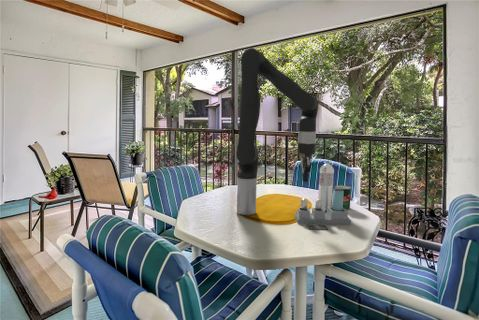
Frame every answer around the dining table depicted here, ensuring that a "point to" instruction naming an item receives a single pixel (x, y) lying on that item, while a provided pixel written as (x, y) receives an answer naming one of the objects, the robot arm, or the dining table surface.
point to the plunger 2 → (318, 205)
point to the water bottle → (326, 185)
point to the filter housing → (322, 217)
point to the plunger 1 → (303, 204)
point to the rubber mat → (316, 227)
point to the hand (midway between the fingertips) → (305, 181)
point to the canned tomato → (345, 196)
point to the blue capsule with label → (337, 199)
